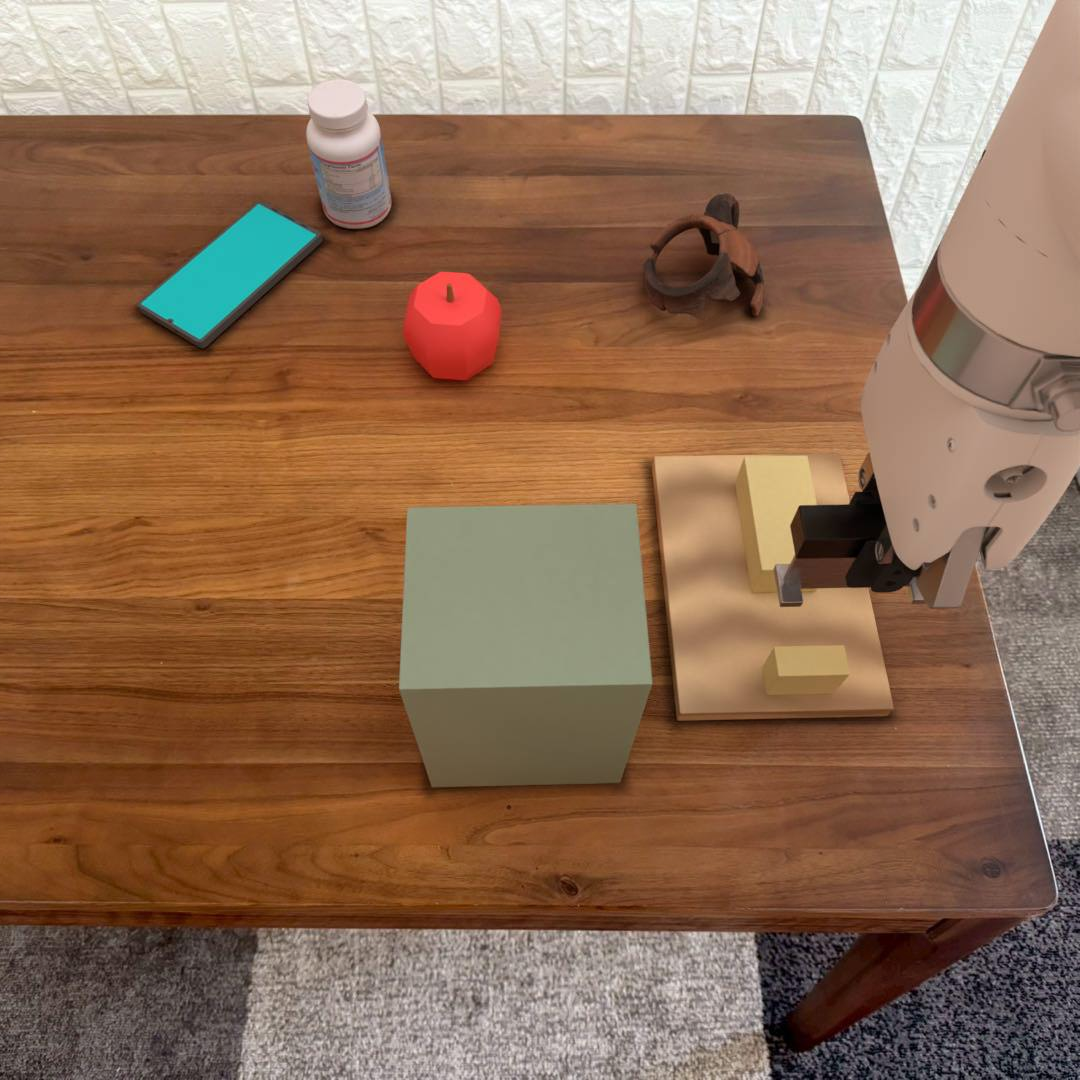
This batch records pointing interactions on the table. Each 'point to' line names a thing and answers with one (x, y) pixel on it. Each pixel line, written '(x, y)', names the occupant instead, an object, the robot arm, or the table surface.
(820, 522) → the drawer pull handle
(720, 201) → the broken pottery vessel
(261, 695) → the table surface
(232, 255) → the smartphone
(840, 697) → the board
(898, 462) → the robot arm
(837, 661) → the butter slice
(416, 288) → the apple
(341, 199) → the pill bottle
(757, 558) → the butter stick
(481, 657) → the stand
